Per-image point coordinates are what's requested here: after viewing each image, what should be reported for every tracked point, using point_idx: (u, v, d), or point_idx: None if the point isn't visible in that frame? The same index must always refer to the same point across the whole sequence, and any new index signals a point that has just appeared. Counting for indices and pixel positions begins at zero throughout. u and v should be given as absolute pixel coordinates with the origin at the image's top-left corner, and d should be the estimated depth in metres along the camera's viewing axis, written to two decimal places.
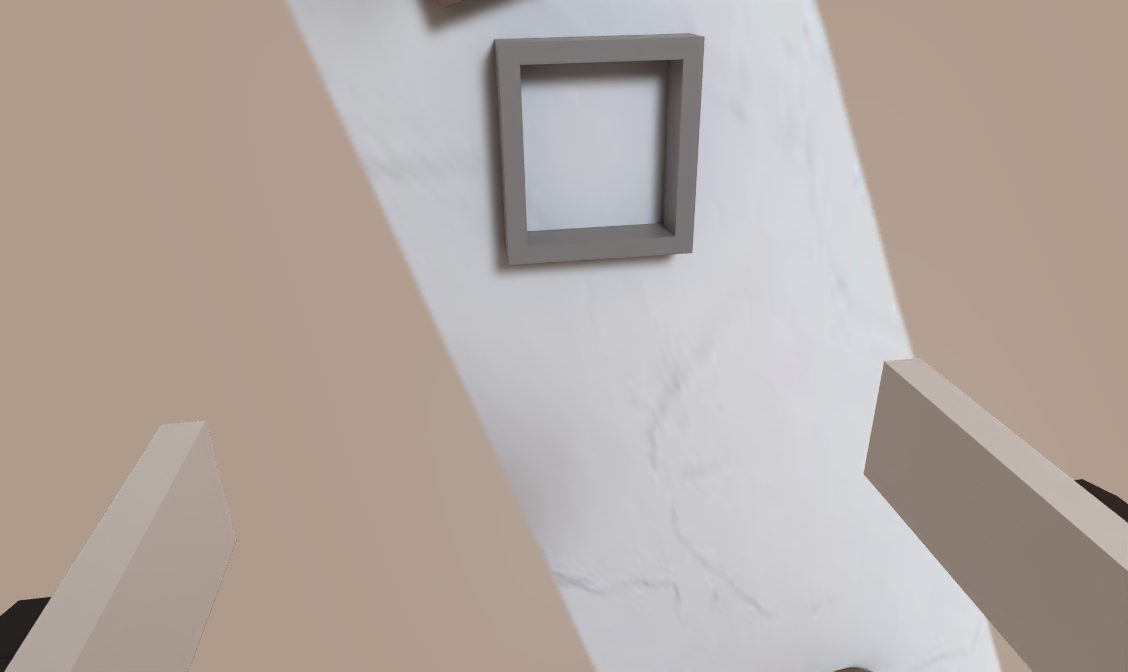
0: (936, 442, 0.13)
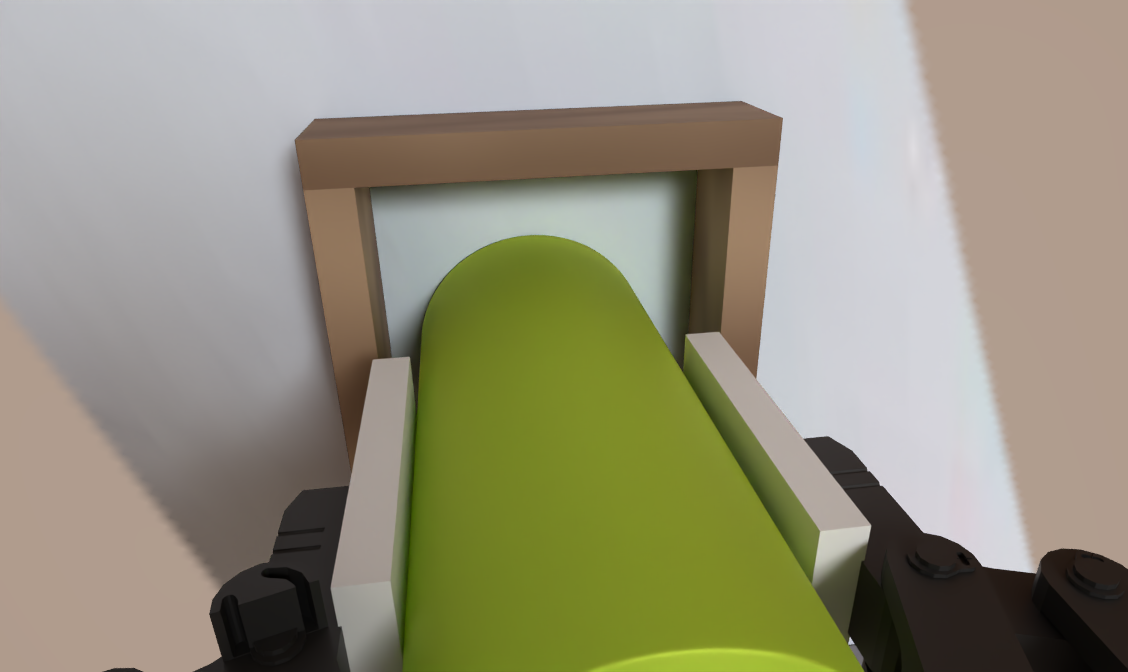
0: (712, 405, 0.15)
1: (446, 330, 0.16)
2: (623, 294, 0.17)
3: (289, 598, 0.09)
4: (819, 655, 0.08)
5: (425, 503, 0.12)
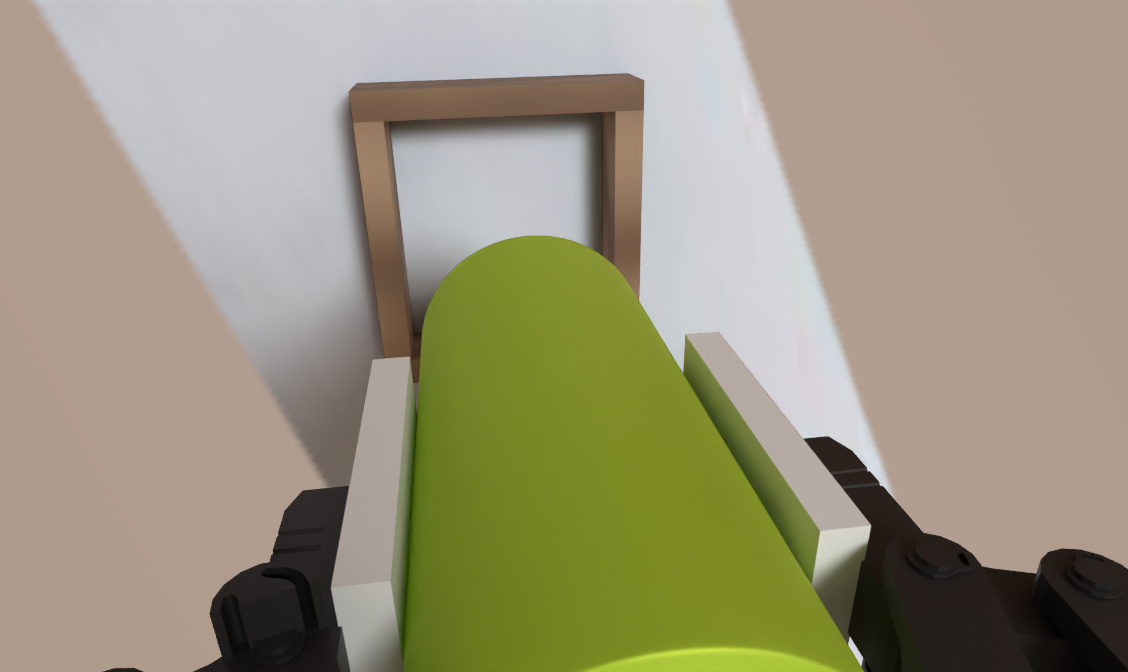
0: (712, 406, 0.15)
1: (447, 330, 0.16)
2: (623, 294, 0.17)
3: (289, 598, 0.09)
4: (816, 653, 0.08)
5: (425, 503, 0.12)
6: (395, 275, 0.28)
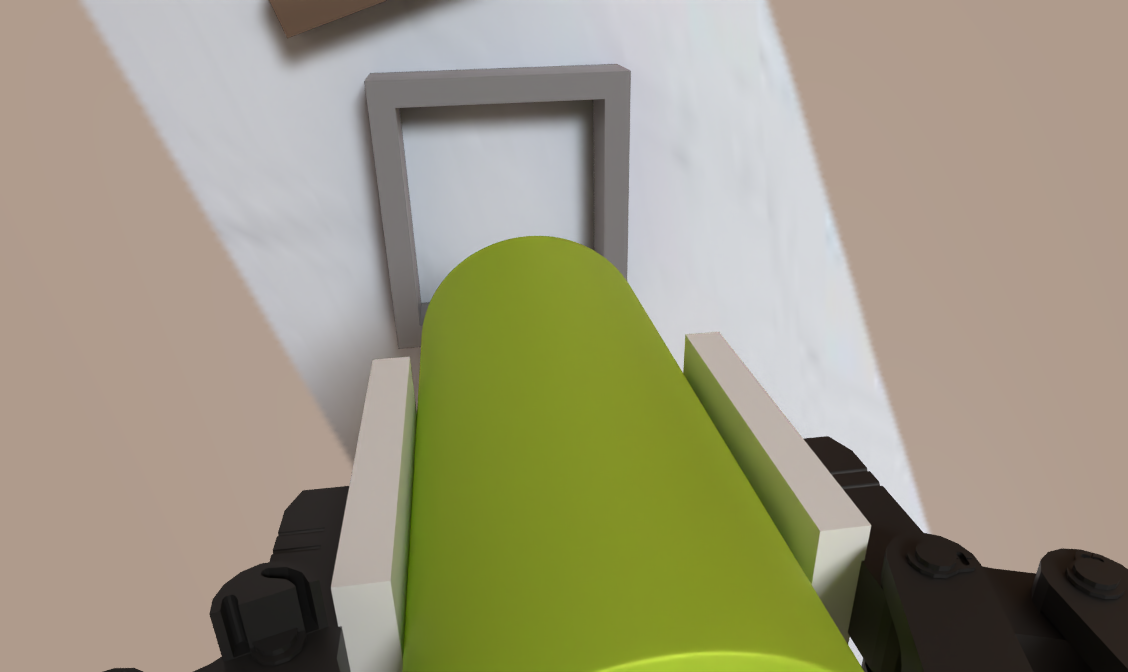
0: (712, 405, 0.15)
1: (446, 331, 0.16)
2: (623, 295, 0.17)
3: (289, 598, 0.09)
4: (819, 658, 0.08)
5: (425, 505, 0.12)
6: None
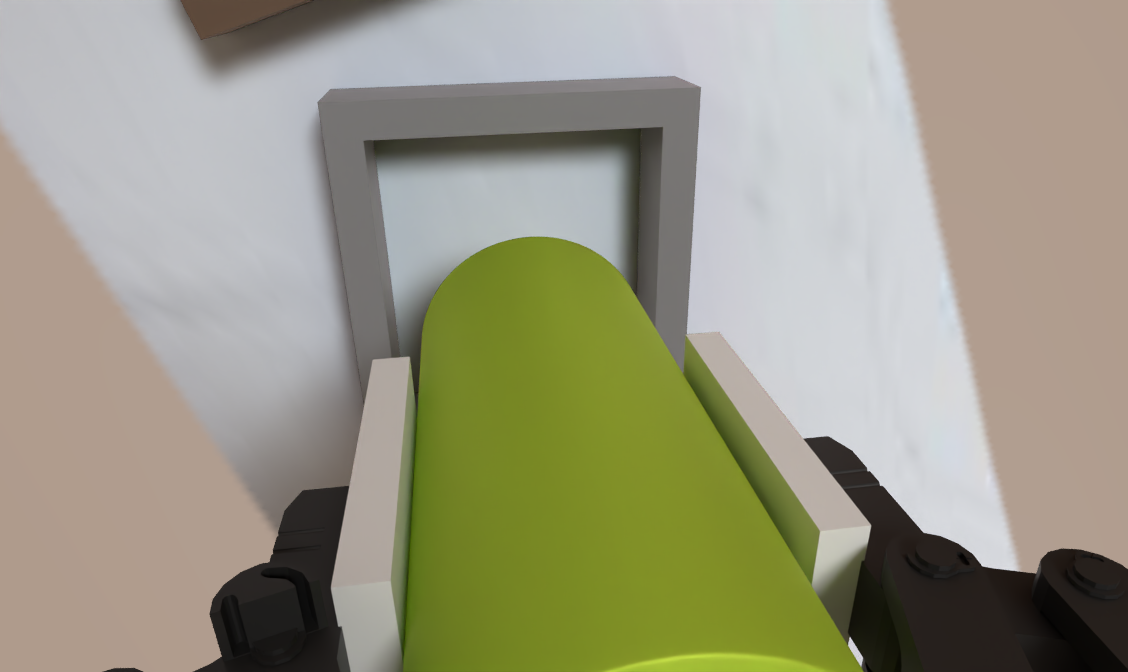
0: (713, 405, 0.15)
1: (447, 332, 0.16)
2: (624, 296, 0.17)
3: (289, 598, 0.09)
4: (820, 660, 0.08)
5: (425, 506, 0.12)
6: None
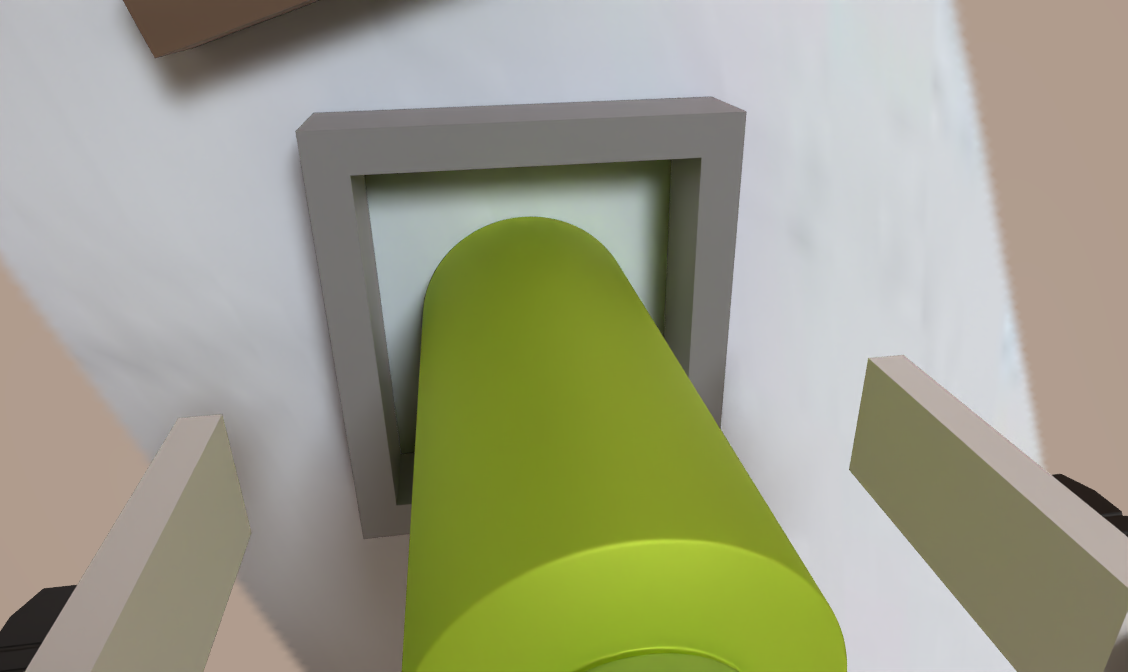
0: (918, 438, 0.14)
1: (446, 301, 0.17)
2: (610, 269, 0.18)
3: None
4: (764, 549, 0.09)
5: (427, 446, 0.13)
6: None
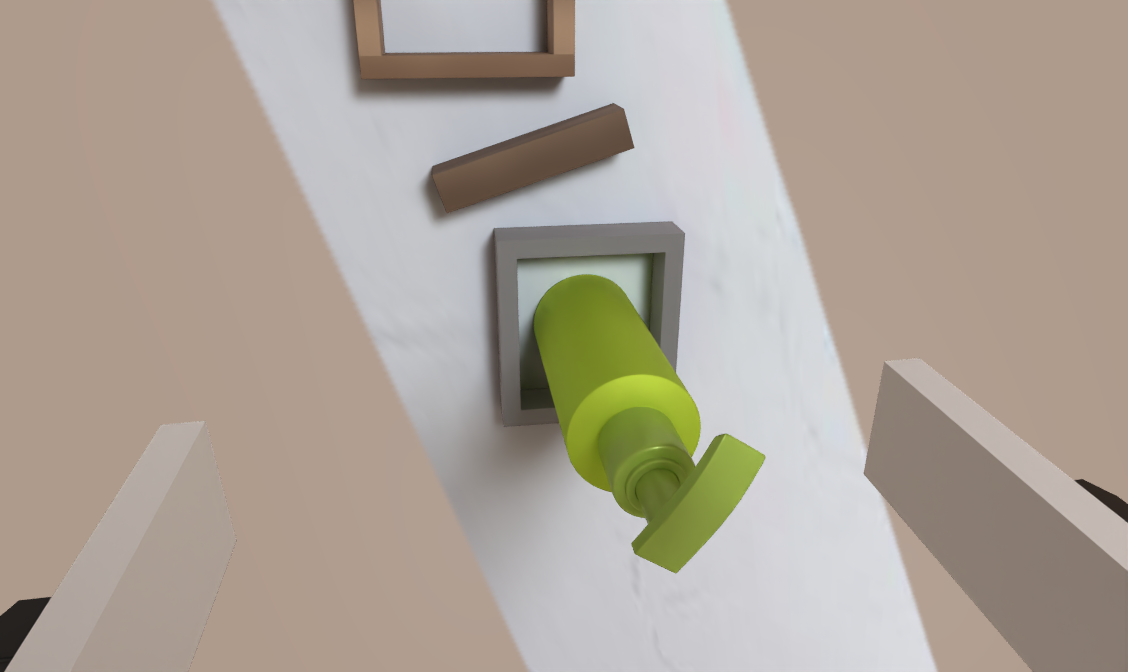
0: (936, 442, 0.13)
1: (554, 312, 0.40)
2: (625, 299, 0.41)
3: None
4: (673, 381, 0.32)
5: (560, 363, 0.36)
6: None
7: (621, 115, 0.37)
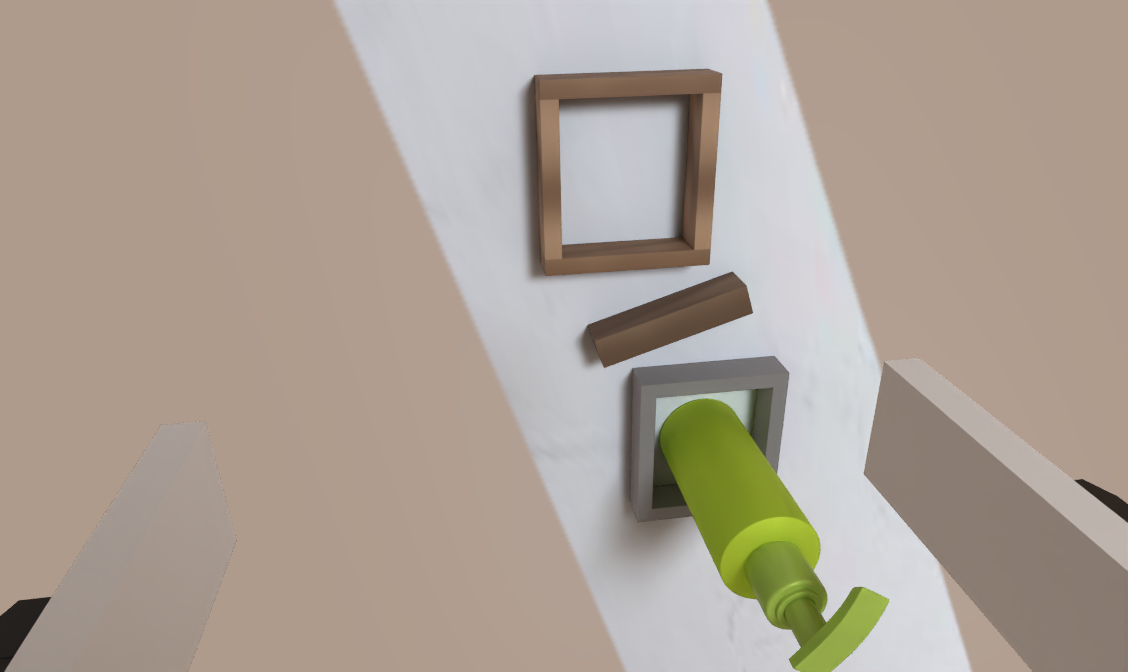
0: (936, 442, 0.13)
1: (685, 438, 0.50)
2: (740, 425, 0.51)
3: None
4: (802, 519, 0.42)
5: (703, 493, 0.46)
6: (557, 200, 0.43)
7: (744, 290, 0.47)
